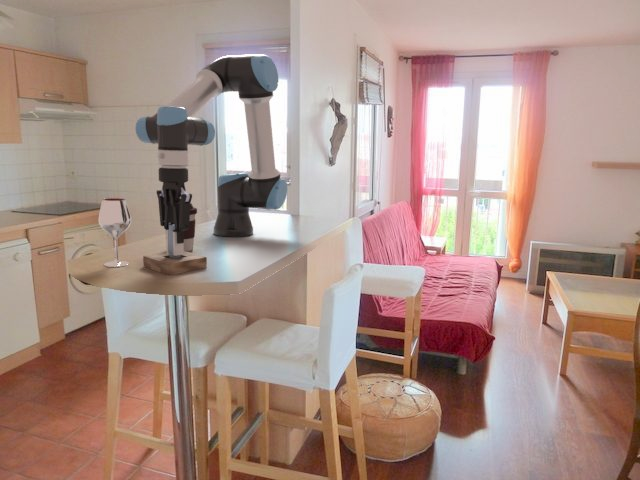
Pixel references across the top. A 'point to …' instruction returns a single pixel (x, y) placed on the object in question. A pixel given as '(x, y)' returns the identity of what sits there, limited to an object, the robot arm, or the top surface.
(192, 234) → the coffee cup
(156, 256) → the hole block
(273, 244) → the top surface
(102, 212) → the wineglass
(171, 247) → the peg
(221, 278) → the top surface
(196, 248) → the top surface
